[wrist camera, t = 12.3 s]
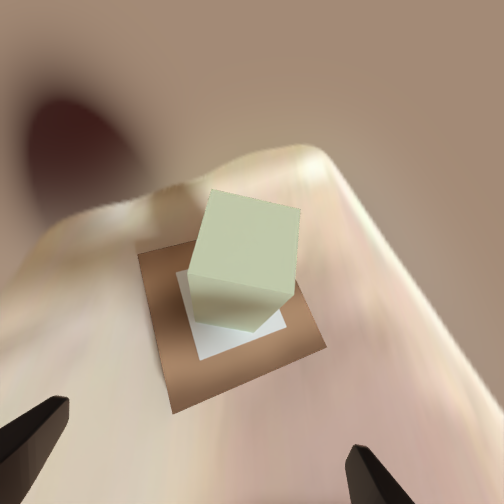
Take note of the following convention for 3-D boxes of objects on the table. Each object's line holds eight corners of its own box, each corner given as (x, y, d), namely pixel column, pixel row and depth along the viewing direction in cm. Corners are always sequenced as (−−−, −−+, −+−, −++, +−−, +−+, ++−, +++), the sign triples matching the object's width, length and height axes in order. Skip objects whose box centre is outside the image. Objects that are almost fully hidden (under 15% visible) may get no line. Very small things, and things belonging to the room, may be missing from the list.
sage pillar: (261, 278, 22) (300, 209, 13) (253, 332, 19) (294, 294, 11) (208, 268, 21) (211, 188, 12) (195, 322, 19) (187, 273, 10)
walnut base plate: (312, 351, 23) (327, 347, 20) (177, 409, 19) (172, 414, 16) (262, 237, 27) (269, 221, 24) (145, 268, 24) (137, 253, 21)
